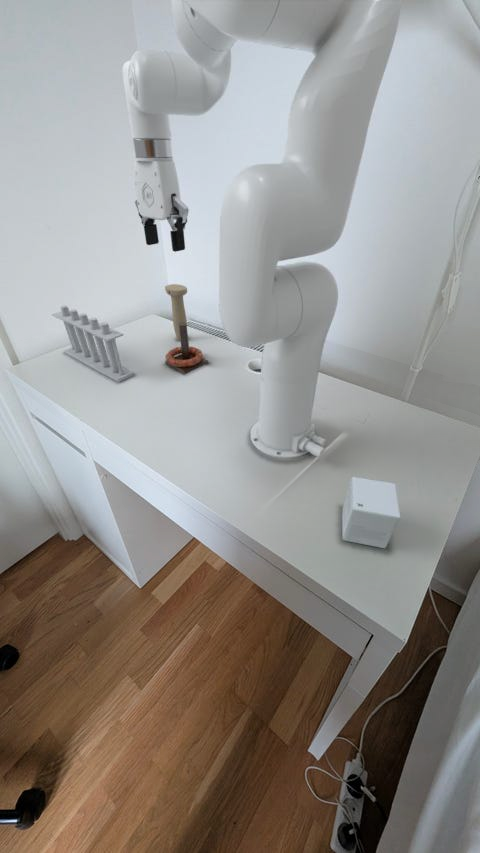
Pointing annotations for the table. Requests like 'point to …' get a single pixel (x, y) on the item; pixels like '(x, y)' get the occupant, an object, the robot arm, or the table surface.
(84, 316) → the test tube rack
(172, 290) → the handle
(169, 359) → the ring
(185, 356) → the rack post
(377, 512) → the product box
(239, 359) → the table surface
